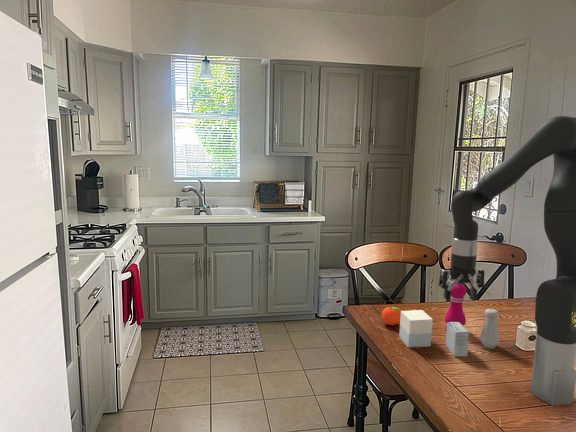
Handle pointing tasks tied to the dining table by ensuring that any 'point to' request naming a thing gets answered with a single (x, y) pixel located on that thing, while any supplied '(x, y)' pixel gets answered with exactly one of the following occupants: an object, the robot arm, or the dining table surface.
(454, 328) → the medicine box
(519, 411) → the dining table surface
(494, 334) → the salt shaker
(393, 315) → the clementine
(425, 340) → the tower base
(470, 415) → the dining table surface
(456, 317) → the pepper mill
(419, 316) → the tower top
